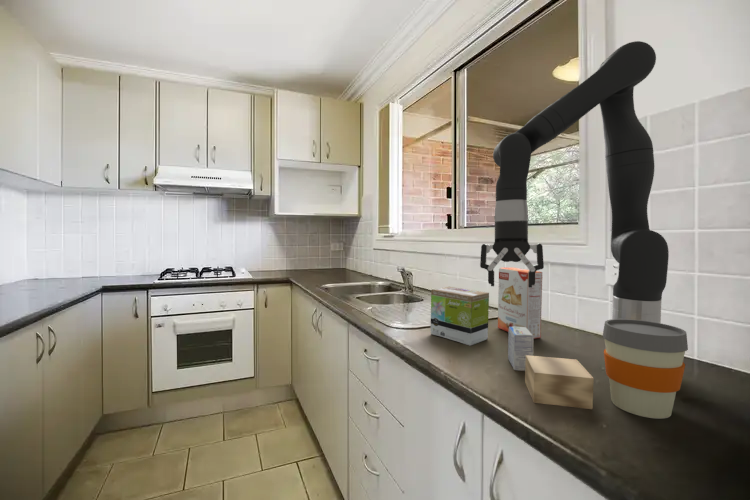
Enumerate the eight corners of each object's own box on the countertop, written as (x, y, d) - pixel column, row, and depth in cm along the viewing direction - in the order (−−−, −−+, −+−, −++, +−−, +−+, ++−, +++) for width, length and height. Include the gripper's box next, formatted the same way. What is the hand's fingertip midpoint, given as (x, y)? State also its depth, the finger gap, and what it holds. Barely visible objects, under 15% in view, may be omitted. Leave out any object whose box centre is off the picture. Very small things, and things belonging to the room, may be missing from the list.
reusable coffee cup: (592, 405, 66) (595, 326, 65) (609, 385, 75) (611, 315, 74) (680, 432, 57) (685, 341, 56) (687, 406, 66) (691, 327, 65)
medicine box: (533, 372, 82) (534, 335, 82) (513, 370, 83) (514, 334, 82) (526, 360, 90) (526, 326, 89) (507, 359, 91) (508, 325, 90)
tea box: (429, 335, 112) (429, 288, 111) (448, 329, 119) (449, 285, 118) (470, 346, 101) (471, 295, 100) (489, 339, 107) (490, 291, 107)
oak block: (575, 387, 74) (576, 359, 74) (592, 410, 65) (593, 378, 64) (524, 382, 77) (525, 355, 77) (533, 403, 67) (534, 372, 67)
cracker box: (496, 328, 120) (497, 267, 119) (511, 327, 122) (512, 266, 121) (525, 340, 107) (527, 271, 106) (541, 338, 109) (543, 271, 108)
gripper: (542, 219, 86) (541, 285, 87) (481, 221, 92) (481, 283, 92) (544, 218, 79) (544, 290, 80) (479, 220, 85) (479, 287, 85)
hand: (510, 286), depth 86 cm, fingers open, 8 cm apart
